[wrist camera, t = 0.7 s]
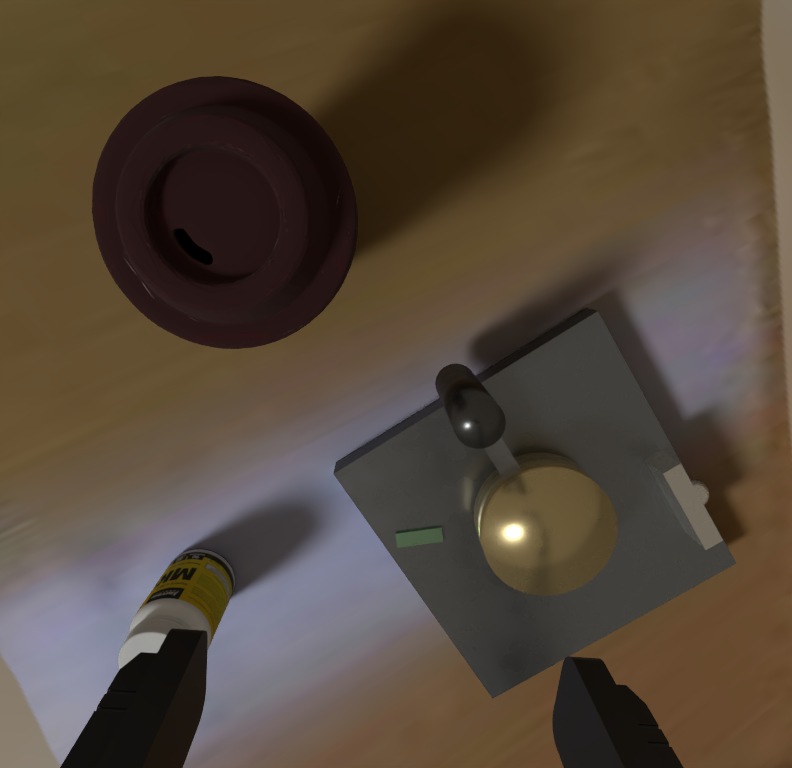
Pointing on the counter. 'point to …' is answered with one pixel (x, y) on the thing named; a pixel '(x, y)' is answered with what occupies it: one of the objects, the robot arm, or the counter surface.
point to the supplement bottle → (181, 602)
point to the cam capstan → (529, 500)
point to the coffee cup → (224, 212)
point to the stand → (539, 433)
